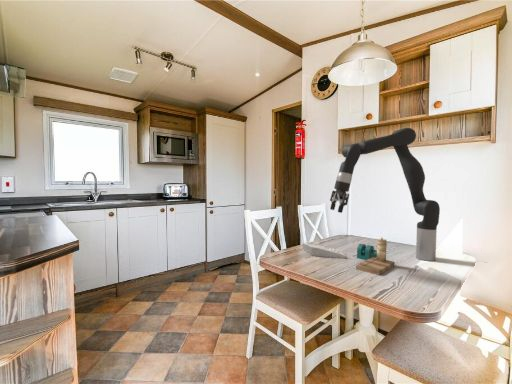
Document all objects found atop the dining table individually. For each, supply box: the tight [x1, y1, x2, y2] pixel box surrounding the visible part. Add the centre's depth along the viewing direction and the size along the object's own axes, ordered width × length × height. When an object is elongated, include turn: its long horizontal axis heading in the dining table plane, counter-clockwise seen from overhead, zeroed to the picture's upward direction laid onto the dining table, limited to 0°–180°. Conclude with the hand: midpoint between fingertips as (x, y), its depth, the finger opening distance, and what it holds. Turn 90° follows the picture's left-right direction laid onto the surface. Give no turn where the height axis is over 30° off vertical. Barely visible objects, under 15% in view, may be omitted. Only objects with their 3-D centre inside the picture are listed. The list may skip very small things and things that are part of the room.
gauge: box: [376, 237, 388, 262], centre depth 132 cm, size 5×5×12 cm
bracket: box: [356, 243, 377, 261], centre depth 147 cm, size 18×7×8 cm, turn 132°
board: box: [355, 257, 395, 276], centre depth 128 cm, size 20×11×2 cm, turn 133°
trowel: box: [301, 241, 347, 259], centre depth 151 cm, size 28×16×5 cm, turn 53°
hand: (335, 211), depth 136 cm, fingers open, 8 cm apart
